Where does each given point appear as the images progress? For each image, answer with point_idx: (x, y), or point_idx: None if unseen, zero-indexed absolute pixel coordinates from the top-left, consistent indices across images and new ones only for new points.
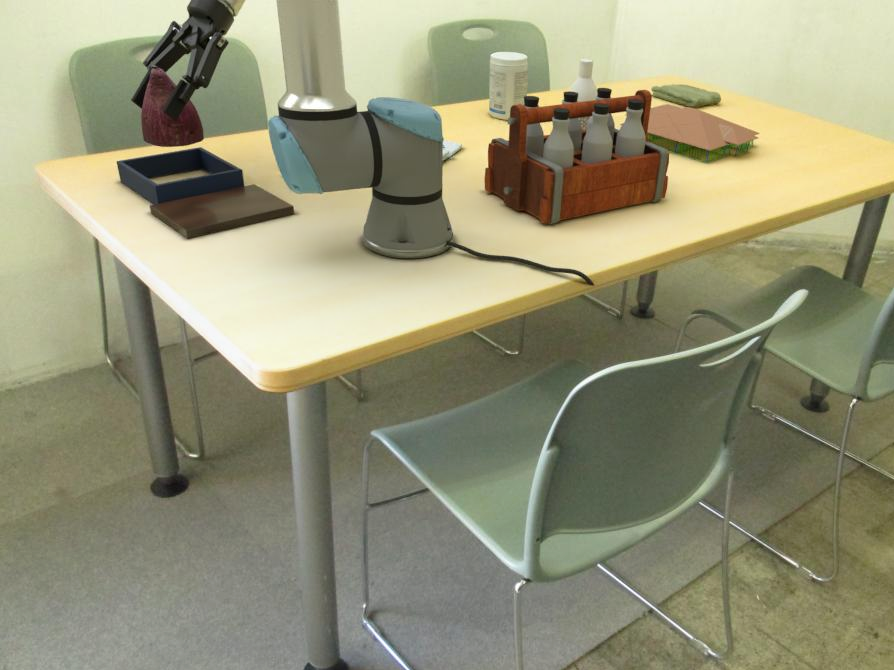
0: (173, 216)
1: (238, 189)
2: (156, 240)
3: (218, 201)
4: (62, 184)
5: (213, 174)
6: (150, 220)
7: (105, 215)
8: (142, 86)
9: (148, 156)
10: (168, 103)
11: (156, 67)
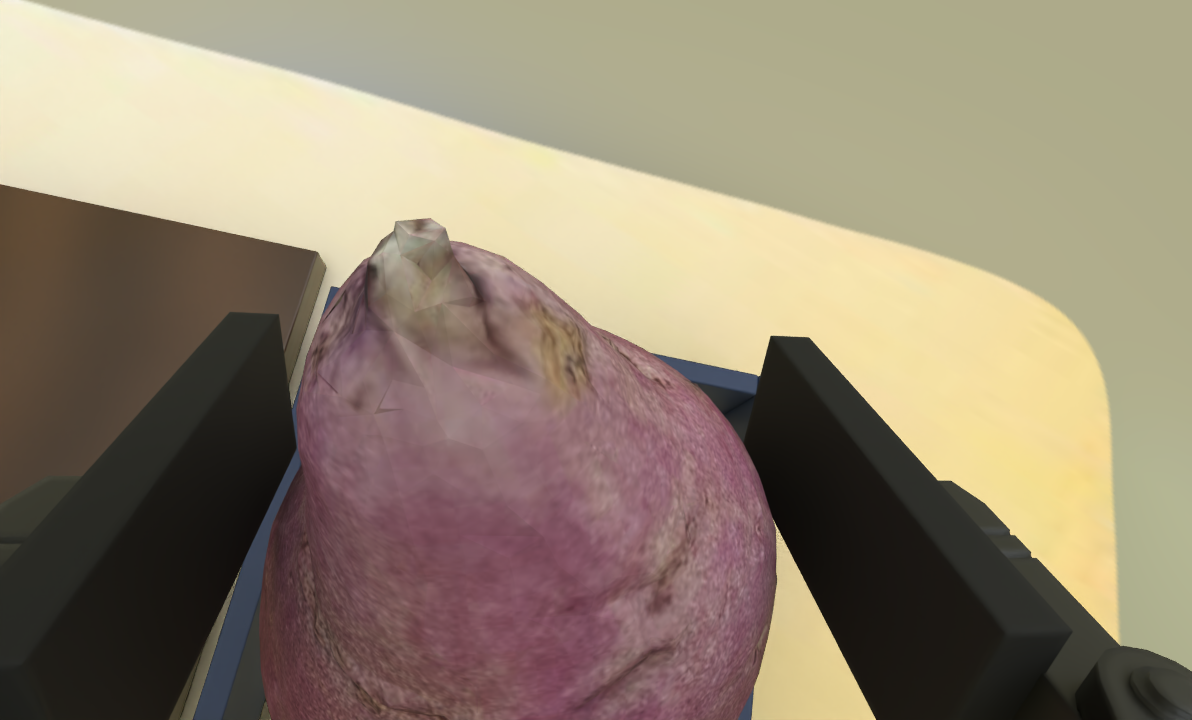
0: (120, 234)
1: None
2: (74, 118)
3: None
4: (844, 243)
5: (235, 620)
6: (266, 223)
7: (446, 156)
8: (848, 439)
9: None
10: (204, 359)
11: (367, 280)
